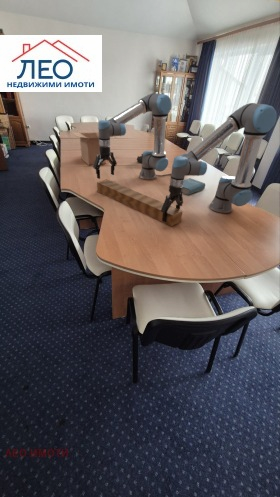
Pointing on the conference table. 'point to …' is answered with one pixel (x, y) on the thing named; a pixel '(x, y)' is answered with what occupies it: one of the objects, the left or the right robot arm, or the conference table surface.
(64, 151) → the conference table surface
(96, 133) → the box
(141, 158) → the laser sight
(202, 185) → the book
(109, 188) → the long wooden beam
